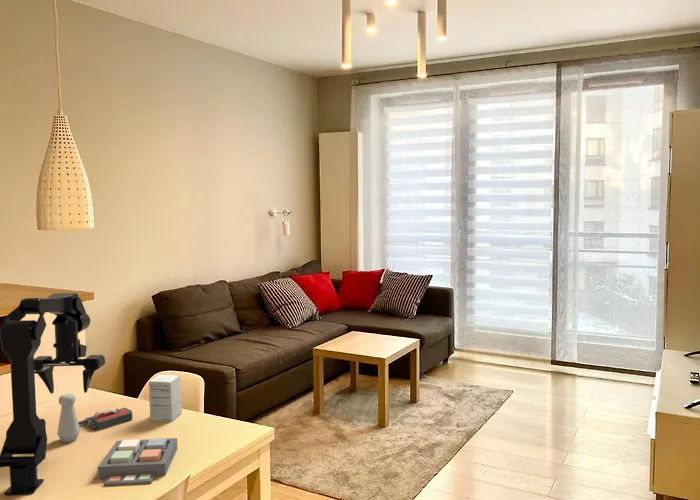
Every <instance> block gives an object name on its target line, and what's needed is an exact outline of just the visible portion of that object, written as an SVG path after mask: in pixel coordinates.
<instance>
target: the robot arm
mask: <svg viewBox="0 0 700 500" xmlns="http://www.w3.org/2000/svg"><path fill="white" fill-rule="evenodd" d="M46 313H50V314H52V315H55V318H54V320H52V322H51V324H52V325H53V326H54V339H55V340H54V343H52V344H53V349H55V358H53V356H51V355H39V356H37V357H34V356H35V355H36V352H37V351H38V349H39V347H40V346H41V343H42V342H41V341H42V336H43V334H44V332H45V330H46V328H47V323H46V320H45V319H46V318H45V317H44V315H45V314H46ZM26 315H39V316H38V318H37V320H35V319H33V320H26V319H25V320H22V319H24V318H25V317H26ZM90 324H91V317H90V315H89V314H88V313H87V312H86V309H85V306H84V303H83V301H82V299H81V297H80V296H79V294H78V293H76V292H69V293H67V292H66V293H65V292H63V293H62V292H59V293H58V292H57V293H56V292H55V293H52V294H49V295H48V297H26V298H23V299H21V300H20V302H19V304H18V306H17V307H16V308H14V309H13V310H12V311H10V312H9V313H8V314H7V315H6V316H5V318H4V319H3V322H2V323H1V326H0V343H1V344H0V345H1V350H2V351H3V352H4V353H5V355H6V356H7V357H8V359H9V361H10V377H11V396H12V397H11V398H12V399H11V401H12V419H13V420H12V422H11V423H10V425H9V426H8V428H7V430H6V432H5V439H4V442H3V446H2V448H1V452H0V468H8V467H9V468H8V469H9V482H10V483H9V484H10V486H9V487H8V488H7V489H5V491H4V496H5V495H7V496H9V495H25V494H27V495H29V494H33V493H35V492H36V490H38V488H39V487H40V486H41V485H42V484H43V483H44V481H45V480H44V478H38V466H39V465H40V464H41V463H42V462H43V461H44V460H45V459H46V455H47V446H48V435H47V430H46V428H47V427H46V420H45V418H40V417H39V416H38V415H37V402H36V401H37V400H36V379H35V378H36V376H35V375H38V377H40V379H41V381H43V383H44V385H45V386H46V388H47V390H48V391H49V393H50V394H51V395H53V394H54V392H55V383H54V375H53V374H54V373H53V372H54V368H55V367H74V366H75V367H76V366H77V367H78V366H79V367H80V366H83V368H84V370H82V387H83V392H84V394H87V392H88V391H89V387H90V384H91V381H92V377H93V375H94V374H95V372H96V371H97V370H99V369H100V368H102V367H103V366H104V365H106V357H105V356H104V355H103V354H91V355H88V356H87V348H88V346H87V345H84V344H81V340H80V339H81V338H79V333H81V332H83V331H85V330H86V329H88V328H89V326H90ZM14 455H15V456H14ZM16 455H18V456H16ZM22 455H24V456H22Z"/></svg>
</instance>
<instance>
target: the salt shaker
mask: <svg viewBox="0 0 700 500" xmlns="http://www.w3.org/2000/svg"><path fill="white" fill-rule="evenodd" d="M76 401H77V400H76V395H75V394H71V393H66V394H63V395H60V396H59V397H58V404H59V405H60V406H61V408H60V414H59V421H58V426H57V431H56V432H57V436H58V438H59V439H60V441H61V443H68V444H69V443H71V442H72V443H73V442H76V440H77V439H78V438H79V435H80V431H81V428H80V425H79V424H78V422H79V419H78V416H77V412H76V408H75V402H76Z"/></svg>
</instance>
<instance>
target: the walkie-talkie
mask: <svg viewBox="0 0 700 500" xmlns="http://www.w3.org/2000/svg"><path fill="white" fill-rule="evenodd" d="M133 418H134V417H133V411H132V410H131V409H129V408H127V407H122V408H118V407H116V408H115V409H114V410H112V409H109V408H108V409H104V410H100V411H96V412H95V413H94V414H93V415H90V416H89V415H88V416H85V419H83V420H80V421H78V424H79V426H82V425H86V426H87V427H91V429H92V430H97V431H100V430H105V429H107V428H111V427H114V426H118V425H120V424H124V423H127V422H130V421H133Z"/></svg>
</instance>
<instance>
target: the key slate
mask: <svg viewBox="0 0 700 500" xmlns="http://www.w3.org/2000/svg"><path fill="white" fill-rule="evenodd" d="M149 439H150V440H149V441H148V443H147V445H146V450H149V449H161V450H165V448H166V446H167V438H166V437H164V438H149Z"/></svg>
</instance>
